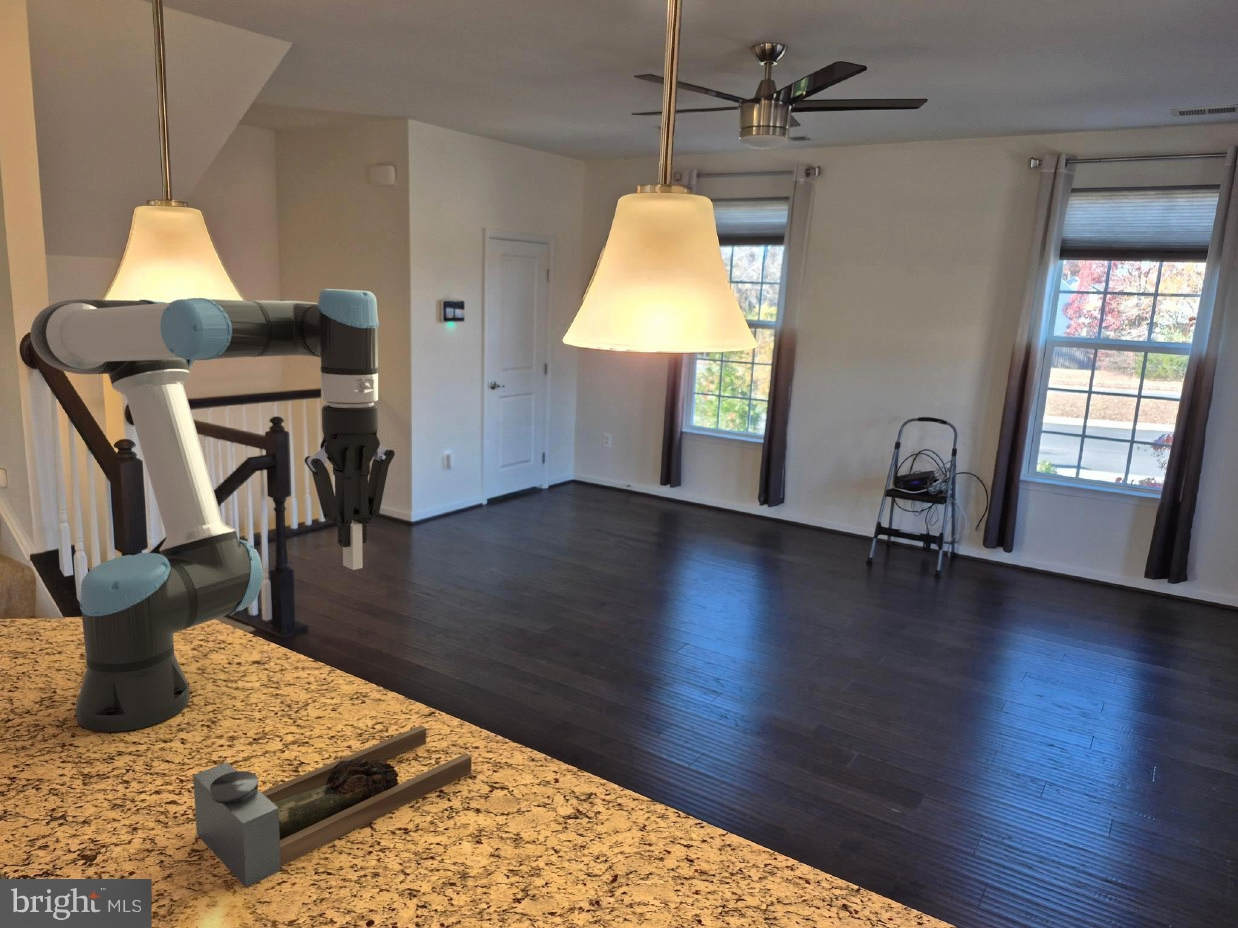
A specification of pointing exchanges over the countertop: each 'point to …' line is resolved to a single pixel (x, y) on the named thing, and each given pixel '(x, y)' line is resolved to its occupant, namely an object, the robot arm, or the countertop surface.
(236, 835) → the block
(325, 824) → the channel rails
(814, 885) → the countertop surface
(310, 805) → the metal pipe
